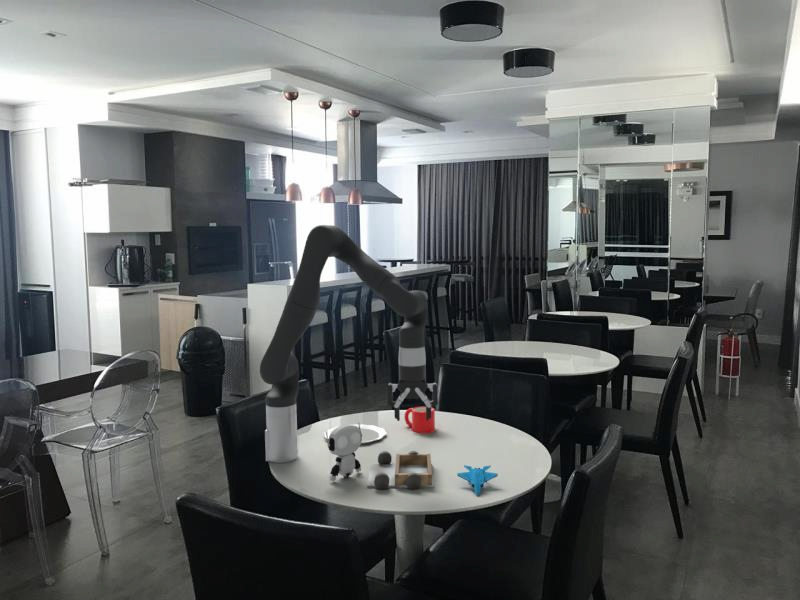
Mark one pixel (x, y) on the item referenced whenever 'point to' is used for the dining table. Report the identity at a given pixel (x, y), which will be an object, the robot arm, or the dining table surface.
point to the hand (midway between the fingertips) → (413, 420)
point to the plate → (369, 427)
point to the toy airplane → (477, 477)
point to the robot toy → (345, 449)
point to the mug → (420, 420)
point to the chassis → (401, 471)
